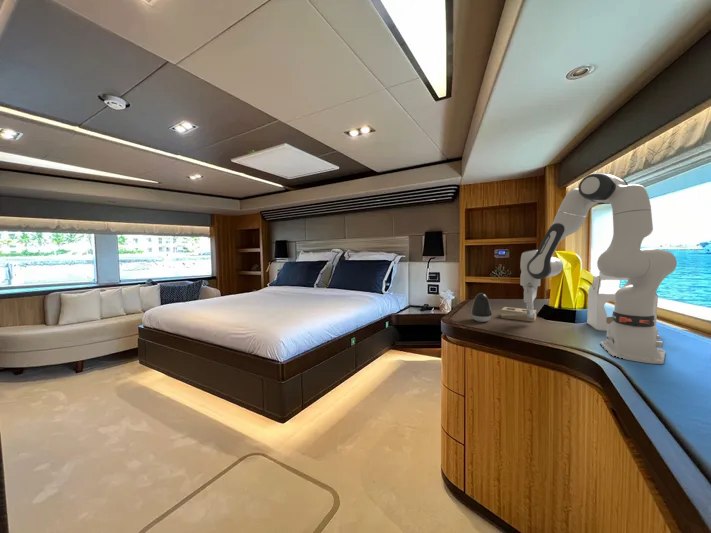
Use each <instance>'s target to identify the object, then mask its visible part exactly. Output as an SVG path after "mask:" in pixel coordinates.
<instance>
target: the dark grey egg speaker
mask: <svg viewBox="0 0 711 533" xmlns="http://www.w3.org/2000/svg"><path fill="white" fill-rule="evenodd" d="M490 303H491V302H490V300H489V298H488V296H487V294H486V293H483V292H480V293H478V294H476V296H475V297H474V298H473V303H472V304H471V309H470V310H471V312H470V313H471V317H472V319H473V320H474V321H476V322H479V323H485V322H489V321H490V319H491V317H492V315H493V314H492V308H491V304H490Z"/></svg>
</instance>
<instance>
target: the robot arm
mask: <svg viewBox="0 0 711 533" xmlns="http://www.w3.org/2000/svg"><path fill="white" fill-rule="evenodd" d="M596 204H597V205H609V204H610V205H611V206H610V207H611V209H612V223H613V224H612V225H613V226H612V227H613V230H612V231H613V232H612V234H613V235H612V239H611V242H610V243H609V246H608V247H607V249H606V250H605V251H603V253H601V254H600V255H599V257H598V259H597V262H596V263H597V264H596V265H597V268H598V271H599V273H600V272H601V273H602V274H603V275H605V276H610V277H615V278H629V279H628V280H626V283H625V284H624V285H623V286H622V287H619V288H620V289H618V290H617V291H616V293H615V301H614V310H613V311H612V314H611V317H612V320H613V322H611V323H610V324H608V325H607V331H606V335H605V336H606V337H605V338H606V339H605V340H603V341H600V343H599V345H600V344H601V345H602V346H601V345H600V346H601V347H602V348H603V347H604V348H603V350H605V351H606V350H607V351H608V352H607V351H606V352H607V353H608V355H610V354H611V355H612V356H611V355H610V356H611V357H614V356H616V357H615V358H617V357H619V358H618V359H621V358H623V359H622V360H626V361H627V360H628V361H631V362H639V363H646V364H655V365H663V364H665V359H666V350H665V349H663V346H664V341H661V339H662V335H659V330H658V328H657V327H656V328H655V327H654V322H655V319H654V315H653V307H654V298H655V294H657V291H658V289H659V287H660V286H661V283H662V282H663V281H664V279H665V278H667V276H669V275H671V274H672V273H673V272H675V270H676V269H677V265H678V263H677V262H678V261H677V257H676V256H675V255H674V254H673V253H672V252H671V251H668V250H664V249H659V248H641V245H642V242H643V241H644V239H645V238H647V237H648V236H650V235H651V234H652V232H653V230H654V227H653V216H652V215H653V214H652V205H651V200H650V197H649V194H648V191H647V189H646V187H645V186H643V185H641V184H635V183H634V184H629V183H628V182H627V181H626V180H625V179H623V178H621V177H617V176H615V175H613V174H608V173H607V174H606V173H603V172H595V173H590V174H588V175H586V176H584V177H583V178H582V179H581V181H580V182H579V183H578V186H577V188H573V189H570V190H569V191H568V192H567V193H566V195H565V196H564V198H563V200H562V201H561V204H560V205H559V207H558V209H557V212H556V215H555V217H554V219H553V222H552V223H551V225H550V227H549V228H548V230H547V231H546V234H545V235H544V237H543V239H542V241H541V243H540V245H539V247H538V249H531V250H525V251H523V252H522V253H521V256H520V267H519V268H520V271H521V273H520V277H519V278H520V280H519V281H520V286H522V289H523V303H525V304H526V309H528V310H532V302H533V303H534V301H535V299H536V298H537V293H538V287H541V279H546V278H550V277H555V276H557V275H560V274H561V273H562V272H563V270H564V263H563V262H562V260H561V259H560V258H558V257H555V256H554V253H555V252H556V250H557V248H558V247H559V244H560V243H561V242H562V241H563V240H564V239H566V238H567V237H569V236H570V235H572V234H575V233H576V232H578V231H579V229H581V227H582V226H583V224H584V222H585V220H586V218H587V216H588V214H589V210H590V209H591V207H593V206H594V205H596Z"/></svg>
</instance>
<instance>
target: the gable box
mask: <svg viewBox="0 0 711 533" xmlns="http://www.w3.org/2000/svg"><path fill="white" fill-rule="evenodd" d="M628 279H629V278H615V277H610V276H605V275H603V274H602V273H601V272H600V271H599V275H597V276H593V280H592V283H591V285H590V287H589V288H588V291H587V292H588V293H587V315H586V317H587V318H586V320H587V321H586V323H587V324H588V325H589V326H591V327H592V328H593V329H595V330H596V331H605V332H607V325H608V324H610V323H611V322H613V320H612V316H608V314H607V311H606V309H605V304H606V303H608V302H615V293H616V291H617V290H618V289H620V288H621V287H602V286H601V282H602V281H605V280H607V281H609V280H611V281H614V280H615V281H628ZM658 300H659V296H658V293H656V294H655V298H654V307H653V315H654V319H655V322H654V327H655V328H656V329H657V321H658V320H657V319H658V318H657V316H658V302H659V301H658Z"/></svg>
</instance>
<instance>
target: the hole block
mask: <svg viewBox="0 0 711 533" xmlns="http://www.w3.org/2000/svg"><path fill="white" fill-rule="evenodd" d="M500 315H501V316H500V318H502V319H507V320H516V321H526V322H535V321H536V319H537V309H533V318H528V317H527V308H519V307H510V306H509V307H508V306H504V307H502V308H501V310H500Z"/></svg>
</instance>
